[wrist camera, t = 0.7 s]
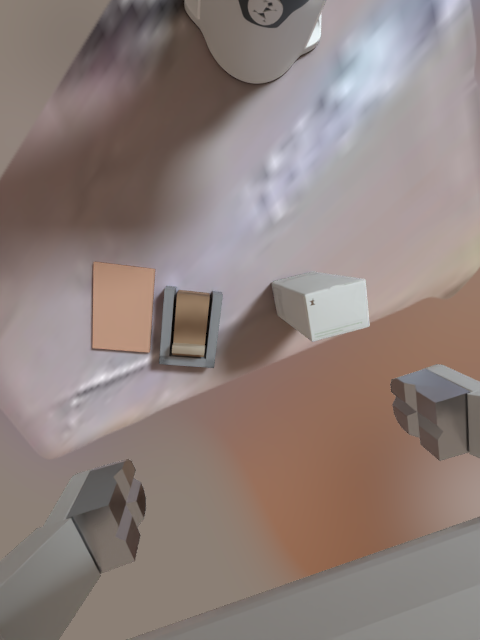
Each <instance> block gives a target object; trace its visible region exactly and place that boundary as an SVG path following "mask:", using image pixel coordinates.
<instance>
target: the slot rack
mask: <svg viewBox="0 0 480 640" xmlns="http://www.w3.org/2000/svg"><path fill="white" fill-rule="evenodd" d="M175 296H176V287H172V286H166V288H165V290H164V303H163V317H162V331H161V345H160V359H159V364H165V365H179V366H193V367H208V368H214V363H215V355H216V347H217V338H218V330H219V322H220V314H221V306H222V298H223V295H222V292H215V291H213V292H212V301H211V310H210V319H209V327H208V336H207V345H206V352H204V357H195V356H181V355H172V350H171V344H172V332H173V320H174V308H175Z"/></svg>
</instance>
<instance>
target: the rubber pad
mask: <svg viewBox="0 0 480 640" xmlns="http://www.w3.org/2000/svg"><path fill="white" fill-rule="evenodd" d="M154 281H155V269H151V268H143V267H135V266H127V265H119V264H111V263H103V262H94V268H93V348H97V349H110V350H123V351H136V352H150V344H151V328H152V312H153V297H154Z"/></svg>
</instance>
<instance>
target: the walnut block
mask: <svg viewBox="0 0 480 640" xmlns="http://www.w3.org/2000/svg"><path fill="white" fill-rule="evenodd" d="M209 300H210V295H209V293H203V292H193V291H184V290H179V291H178V293H177V301H176V314H175V327H174V340H173V345H172V355H181V356H195V357H204V352H205V339H206V329H207V319H208V310H209Z"/></svg>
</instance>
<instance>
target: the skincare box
mask: <svg viewBox="0 0 480 640" xmlns="http://www.w3.org/2000/svg"><path fill="white" fill-rule="evenodd" d="M271 284H272V289H273V295H274V300H275V306H276V311H277V315H278V316H279V317H280V318H282V319H283V320H284V321H286V322H287V323H288V324H289V325H291V326H292V327H293V328H295V329H296V330H297V331H299V332H300V333H301V334H303V335H304V336H305V337H307V338H308V339H309V340H311V341H312V342H314V341H317V340H321V339H325V338H329V337H332V336H336V335H340V334H344V333H348V332H351V331H355V330H358V329H362V328H366V327H369V326H370V324H369V313H368V302H367V291H366V280H365V279H360V278H354V277H347V276H340V275H333V274H326V273H320V272H309V273H305V274H301V275H297V276H293V277H288V278H284V279H280V280H277V281H273V282H272V283H271Z"/></svg>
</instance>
